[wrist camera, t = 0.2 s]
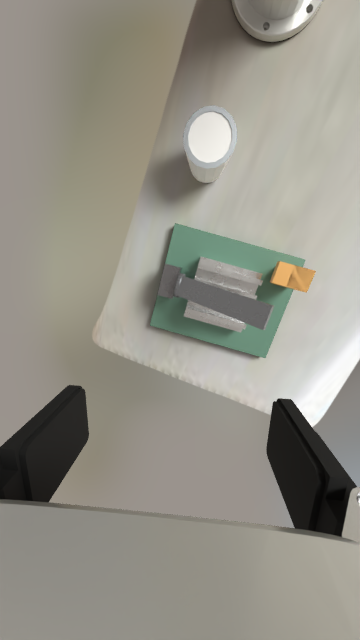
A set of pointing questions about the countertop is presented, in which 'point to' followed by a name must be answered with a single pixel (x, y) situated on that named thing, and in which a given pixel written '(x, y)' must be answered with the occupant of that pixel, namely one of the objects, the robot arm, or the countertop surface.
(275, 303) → the circuit board
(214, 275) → the heat sink
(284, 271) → the block
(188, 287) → the strap
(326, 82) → the countertop surface
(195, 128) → the white grey cylinder
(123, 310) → the countertop surface
